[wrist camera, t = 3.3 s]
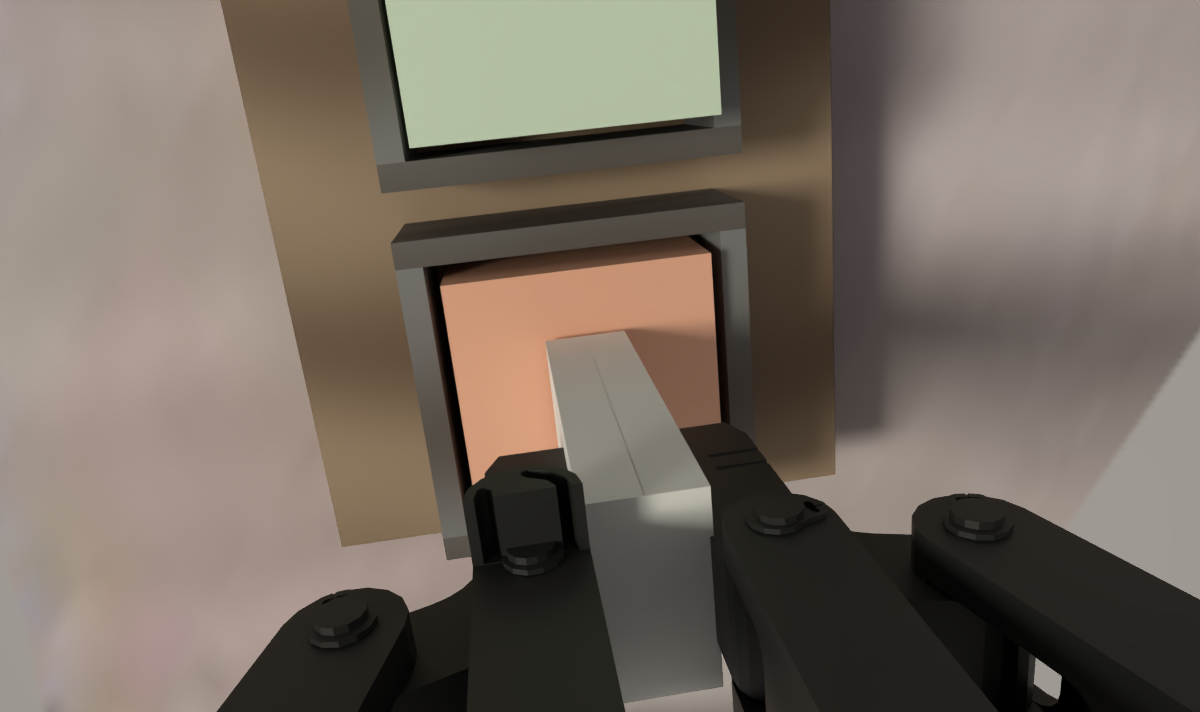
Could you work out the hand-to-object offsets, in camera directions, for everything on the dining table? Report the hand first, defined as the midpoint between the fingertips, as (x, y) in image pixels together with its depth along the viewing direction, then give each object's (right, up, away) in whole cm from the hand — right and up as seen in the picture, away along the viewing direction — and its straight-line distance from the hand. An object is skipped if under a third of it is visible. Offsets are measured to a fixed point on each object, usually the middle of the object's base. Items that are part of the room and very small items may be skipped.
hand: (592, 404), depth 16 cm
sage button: (-1, +8, -1) cm, 8 cm away
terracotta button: (0, +1, +3) cm, 3 cm away
